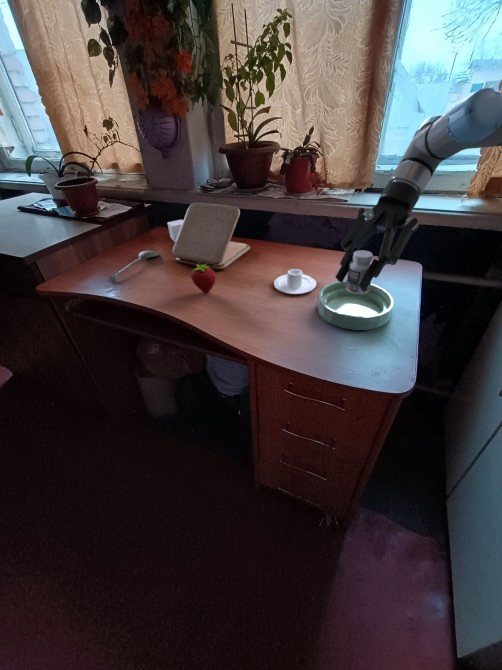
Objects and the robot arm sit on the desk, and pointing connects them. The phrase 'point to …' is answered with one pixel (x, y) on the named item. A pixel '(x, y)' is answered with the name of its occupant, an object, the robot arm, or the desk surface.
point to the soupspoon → (141, 256)
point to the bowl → (355, 306)
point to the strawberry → (203, 278)
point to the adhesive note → (174, 228)
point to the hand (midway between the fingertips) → (350, 283)
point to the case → (209, 236)
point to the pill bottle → (358, 271)
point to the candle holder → (295, 282)
